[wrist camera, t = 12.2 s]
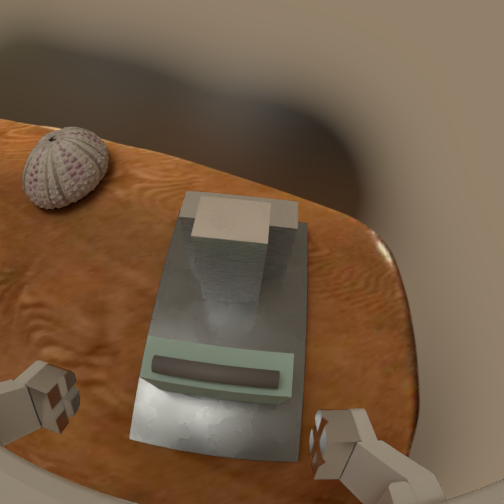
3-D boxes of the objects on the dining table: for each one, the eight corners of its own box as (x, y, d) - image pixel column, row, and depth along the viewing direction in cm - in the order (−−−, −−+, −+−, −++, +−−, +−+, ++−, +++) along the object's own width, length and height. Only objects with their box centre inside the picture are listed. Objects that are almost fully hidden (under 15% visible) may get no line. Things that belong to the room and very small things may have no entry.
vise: (294, 460, 23) (315, 469, 16) (134, 438, 23) (102, 438, 16) (304, 231, 35) (318, 184, 29) (181, 218, 36) (172, 170, 29)
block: (257, 304, 29) (267, 243, 20) (203, 298, 29) (190, 235, 20) (260, 271, 31) (270, 202, 22) (209, 266, 31) (200, 196, 22)
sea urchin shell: (17, 202, 36) (-6, 164, 30) (73, 143, 43) (59, 104, 37) (71, 231, 34) (44, 186, 27) (132, 160, 41) (120, 113, 34)
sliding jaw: (279, 404, 24) (294, 394, 18) (159, 389, 24) (134, 373, 18) (281, 370, 25) (297, 349, 19) (165, 356, 26) (143, 329, 20)
